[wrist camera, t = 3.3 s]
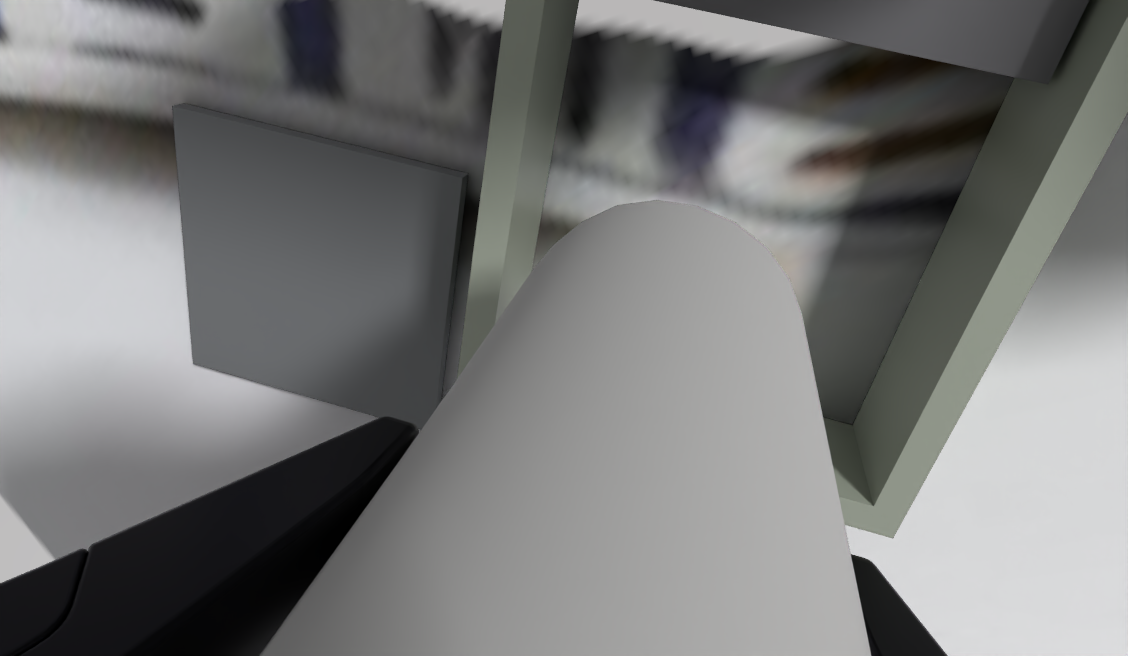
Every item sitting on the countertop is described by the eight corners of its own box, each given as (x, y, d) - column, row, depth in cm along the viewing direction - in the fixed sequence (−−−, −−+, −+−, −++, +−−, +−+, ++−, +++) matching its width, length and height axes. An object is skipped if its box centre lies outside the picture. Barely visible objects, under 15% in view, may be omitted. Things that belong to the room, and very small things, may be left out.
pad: (438, 424, 25) (432, 433, 24) (202, 356, 26) (193, 363, 25) (468, 173, 20) (462, 178, 20) (183, 103, 21) (172, 105, 21)
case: (869, 453, 21) (893, 538, 18) (492, 350, 23) (452, 412, 20) (1182, -182, 14) (1316, -230, 11) (591, -284, 15) (551, -355, 12)
